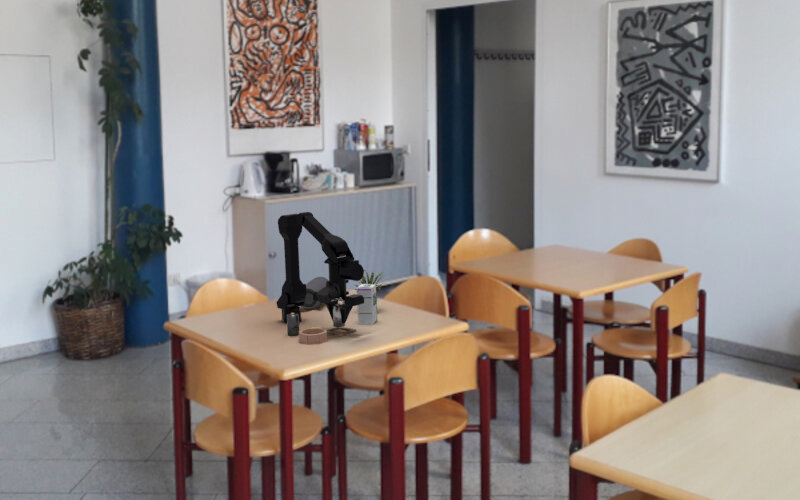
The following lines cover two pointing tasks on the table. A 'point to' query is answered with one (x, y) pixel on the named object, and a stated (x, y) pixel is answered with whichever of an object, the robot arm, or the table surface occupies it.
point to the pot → (312, 336)
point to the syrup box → (367, 304)
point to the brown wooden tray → (340, 329)
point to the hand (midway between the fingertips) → (339, 322)
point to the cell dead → (293, 324)
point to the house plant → (371, 281)
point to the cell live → (337, 316)
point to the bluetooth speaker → (310, 289)
